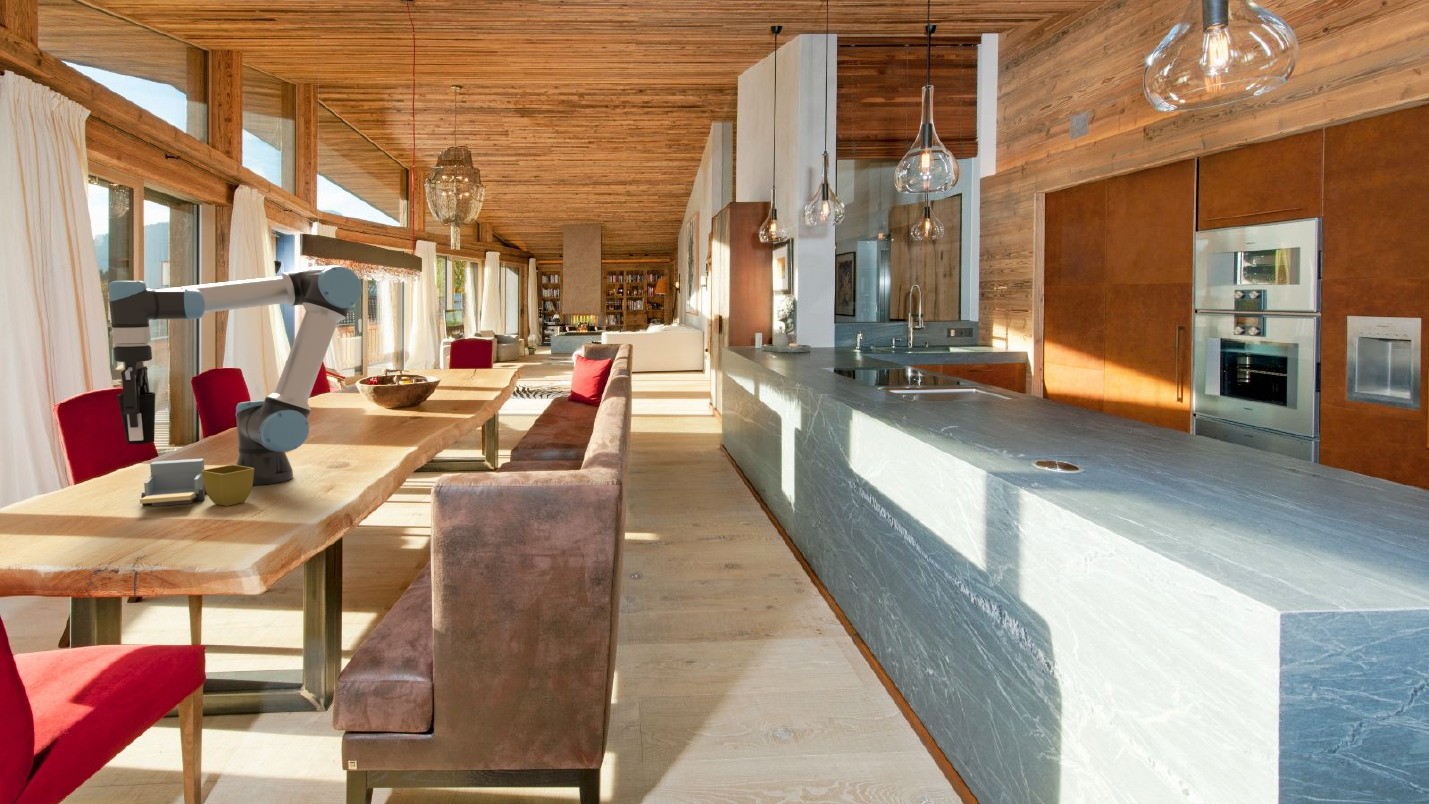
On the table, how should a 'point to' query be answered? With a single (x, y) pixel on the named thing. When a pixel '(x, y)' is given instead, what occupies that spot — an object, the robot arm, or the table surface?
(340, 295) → the robot arm
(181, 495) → the panel
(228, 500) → the flower pot
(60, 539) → the table surface
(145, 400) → the cup
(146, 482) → the truck
